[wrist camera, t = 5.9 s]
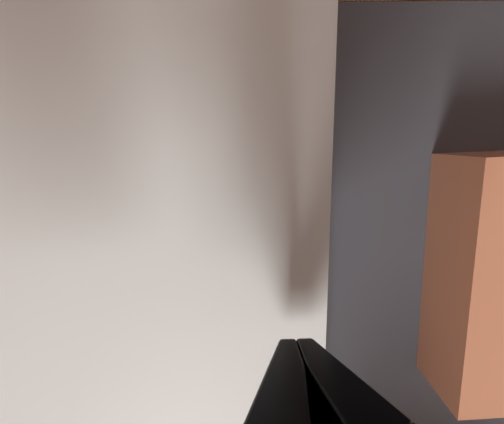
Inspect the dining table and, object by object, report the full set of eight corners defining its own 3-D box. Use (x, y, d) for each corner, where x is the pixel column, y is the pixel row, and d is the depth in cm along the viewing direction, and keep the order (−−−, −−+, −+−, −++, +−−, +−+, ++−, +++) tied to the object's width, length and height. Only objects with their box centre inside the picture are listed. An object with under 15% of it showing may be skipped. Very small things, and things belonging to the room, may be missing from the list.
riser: (298, 490, 16) (316, 604, 12) (2, 502, 16) (-78, 623, 12) (307, -27, 11) (342, -116, 7) (-116, -25, 11) (-316, -116, 7)
